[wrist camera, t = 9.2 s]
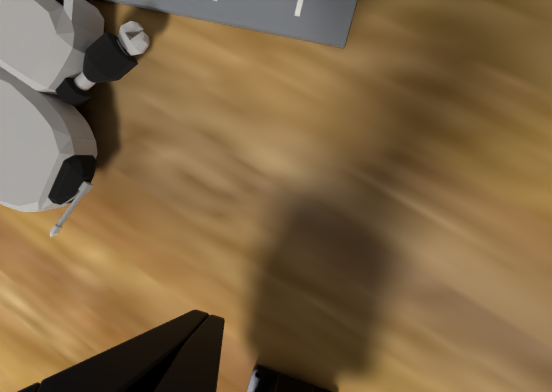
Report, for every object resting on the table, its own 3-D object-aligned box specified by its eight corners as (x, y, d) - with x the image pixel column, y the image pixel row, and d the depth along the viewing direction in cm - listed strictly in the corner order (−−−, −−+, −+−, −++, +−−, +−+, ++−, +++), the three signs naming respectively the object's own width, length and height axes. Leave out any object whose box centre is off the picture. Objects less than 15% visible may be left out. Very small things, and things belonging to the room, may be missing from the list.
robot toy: (41, -39, 19) (-25, 145, 22) (-41, -97, 15) (-110, 142, 18) (184, 52, 19) (96, 229, 22) (142, 19, 14) (38, 247, 17)
